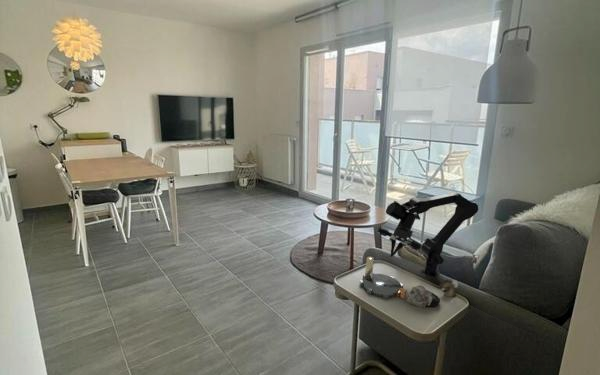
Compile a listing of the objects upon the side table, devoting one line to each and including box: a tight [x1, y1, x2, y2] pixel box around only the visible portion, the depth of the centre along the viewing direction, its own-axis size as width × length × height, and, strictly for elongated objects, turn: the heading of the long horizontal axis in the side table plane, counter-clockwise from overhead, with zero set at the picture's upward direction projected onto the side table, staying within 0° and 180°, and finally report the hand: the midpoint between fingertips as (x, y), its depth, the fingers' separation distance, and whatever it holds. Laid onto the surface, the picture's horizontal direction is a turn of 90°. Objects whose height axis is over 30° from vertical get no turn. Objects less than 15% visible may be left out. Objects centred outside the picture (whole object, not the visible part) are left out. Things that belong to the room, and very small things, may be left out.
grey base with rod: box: [359, 256, 404, 300], centre depth 135 cm, size 17×17×11 cm
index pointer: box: [399, 288, 408, 299], centre depth 129 cm, size 2×2×4 cm
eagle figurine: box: [439, 276, 459, 299], centre depth 135 cm, size 8×7×9 cm
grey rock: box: [406, 285, 441, 309], centre depth 127 cm, size 7×11×10 cm
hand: (391, 256), depth 142 cm, fingers closed
